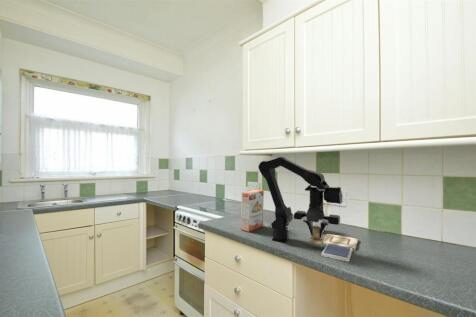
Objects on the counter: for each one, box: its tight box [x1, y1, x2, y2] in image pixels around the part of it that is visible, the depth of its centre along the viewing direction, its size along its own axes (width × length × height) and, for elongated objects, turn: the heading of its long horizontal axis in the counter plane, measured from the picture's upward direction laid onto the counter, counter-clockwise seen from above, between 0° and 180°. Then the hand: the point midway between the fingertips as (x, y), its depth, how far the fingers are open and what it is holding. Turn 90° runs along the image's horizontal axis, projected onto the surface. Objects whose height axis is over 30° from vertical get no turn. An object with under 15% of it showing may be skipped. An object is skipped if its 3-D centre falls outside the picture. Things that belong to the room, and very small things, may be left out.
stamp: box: [308, 226, 324, 246], centre depth 102 cm, size 5×5×7 cm
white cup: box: [313, 212, 326, 233], centre depth 125 cm, size 8×8×10 cm
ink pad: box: [321, 244, 353, 262], centre depth 95 cm, size 10×12×2 cm
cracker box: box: [240, 189, 265, 233], centre depth 130 cm, size 14×6×21 cm, turn 140°
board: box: [321, 233, 359, 251], centre depth 108 cm, size 14×14×1 cm
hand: (316, 236), depth 102 cm, fingers closed on stamp, 3 cm apart
